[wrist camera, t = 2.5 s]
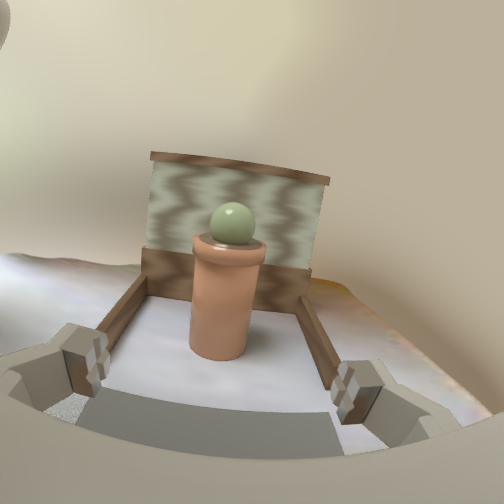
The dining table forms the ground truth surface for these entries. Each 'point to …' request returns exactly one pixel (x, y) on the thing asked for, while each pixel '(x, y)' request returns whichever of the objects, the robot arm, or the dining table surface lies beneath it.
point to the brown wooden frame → (266, 230)
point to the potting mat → (210, 428)
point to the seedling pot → (224, 283)
